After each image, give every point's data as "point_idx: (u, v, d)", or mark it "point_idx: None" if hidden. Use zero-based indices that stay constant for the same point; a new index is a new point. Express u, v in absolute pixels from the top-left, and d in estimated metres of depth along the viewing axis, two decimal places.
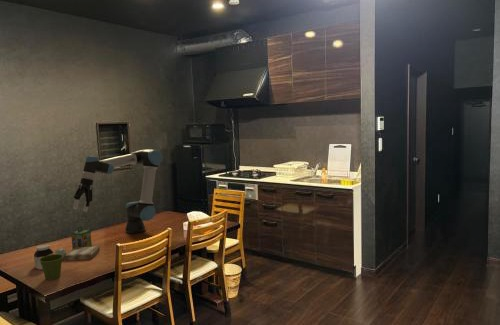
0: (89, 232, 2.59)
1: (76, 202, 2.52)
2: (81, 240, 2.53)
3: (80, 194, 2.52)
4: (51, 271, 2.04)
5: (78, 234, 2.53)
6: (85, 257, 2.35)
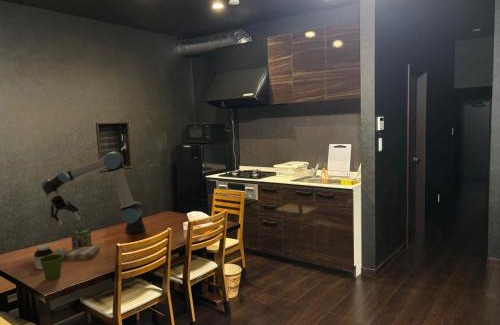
0: (89, 232, 2.59)
1: (75, 215, 2.69)
2: (81, 240, 2.53)
3: (69, 209, 2.69)
4: (51, 271, 2.04)
5: (78, 234, 2.53)
6: (85, 257, 2.35)
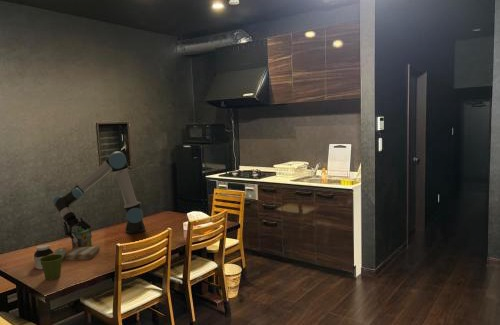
0: (89, 232, 2.59)
1: None
2: (80, 240, 2.53)
3: None
4: (51, 271, 2.04)
5: (78, 234, 2.53)
6: (85, 257, 2.35)
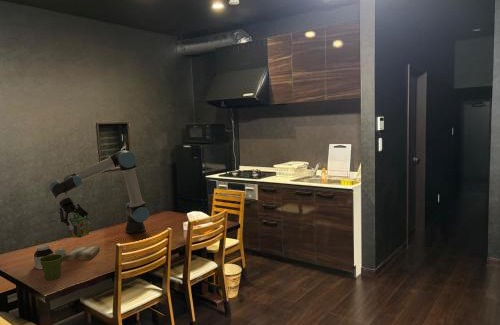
0: (86, 219, 2.46)
1: None
2: (77, 227, 2.39)
3: (78, 213, 2.49)
4: (51, 271, 2.04)
5: (74, 221, 2.39)
6: (85, 257, 2.35)
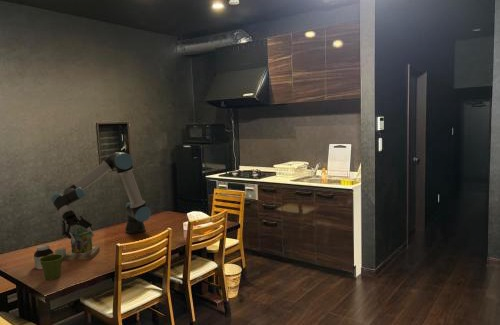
0: (89, 234, 2.43)
1: (88, 231, 2.48)
2: (80, 242, 2.37)
3: (81, 224, 2.47)
4: (51, 271, 2.04)
5: (77, 236, 2.37)
6: (85, 257, 2.35)
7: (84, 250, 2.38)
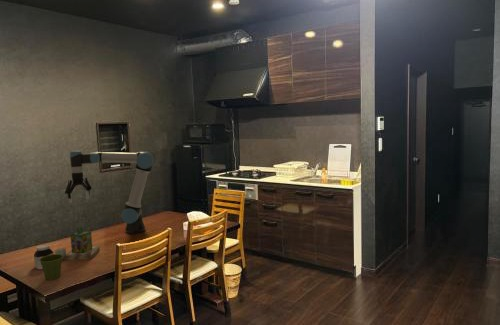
0: (89, 234, 2.43)
1: (86, 193, 2.81)
2: (80, 242, 2.37)
3: (83, 186, 2.78)
4: (51, 271, 2.04)
5: (77, 236, 2.37)
6: (85, 257, 2.35)
7: (84, 250, 2.38)
